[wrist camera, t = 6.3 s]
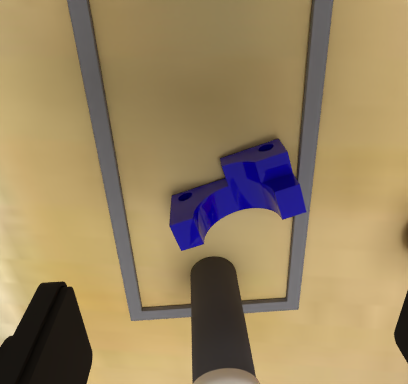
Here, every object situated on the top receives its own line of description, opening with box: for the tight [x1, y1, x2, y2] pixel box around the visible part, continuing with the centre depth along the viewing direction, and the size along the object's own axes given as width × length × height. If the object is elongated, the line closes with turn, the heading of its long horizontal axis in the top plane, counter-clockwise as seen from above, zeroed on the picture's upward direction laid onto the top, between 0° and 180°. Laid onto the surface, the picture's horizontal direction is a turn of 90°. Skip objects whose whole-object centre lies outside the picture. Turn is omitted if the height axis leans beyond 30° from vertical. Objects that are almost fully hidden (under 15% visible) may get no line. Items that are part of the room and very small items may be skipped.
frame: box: [67, 0, 333, 321], centre depth 23 cm, size 30×14×1 cm, turn 3°
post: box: [191, 257, 260, 384], centre depth 22 cm, size 4×4×14 cm
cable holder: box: [169, 139, 306, 251], centre depth 22 cm, size 8×4×4 cm, turn 109°
